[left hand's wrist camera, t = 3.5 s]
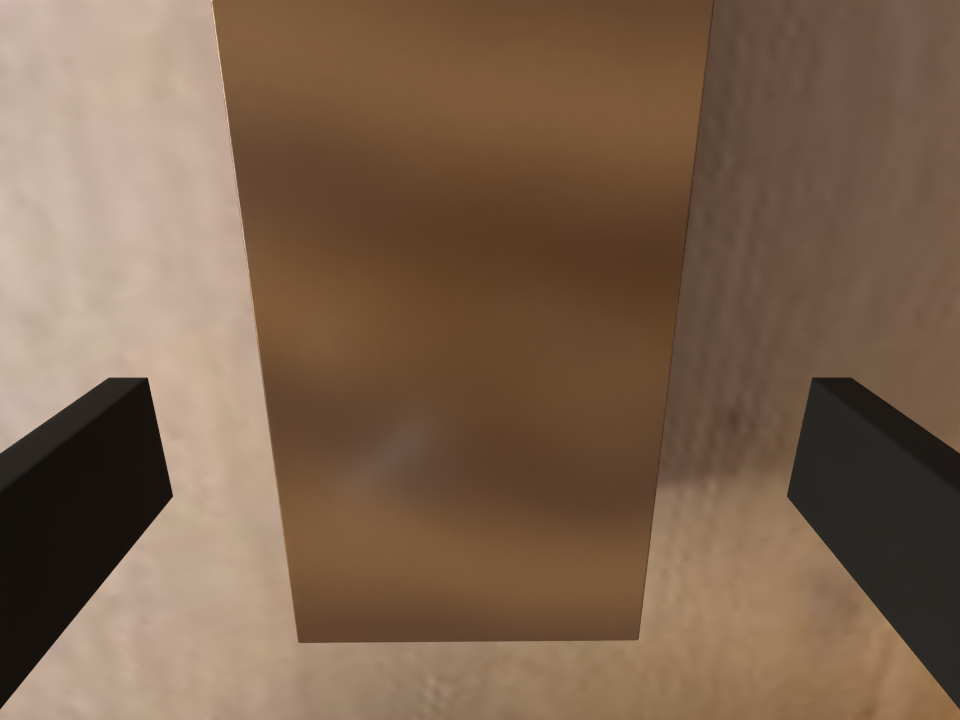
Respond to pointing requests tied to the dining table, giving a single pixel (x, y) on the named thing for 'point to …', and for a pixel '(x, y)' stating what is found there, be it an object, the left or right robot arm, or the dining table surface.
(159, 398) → the dining table surface
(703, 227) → the dining table surface
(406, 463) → the wooden beam
